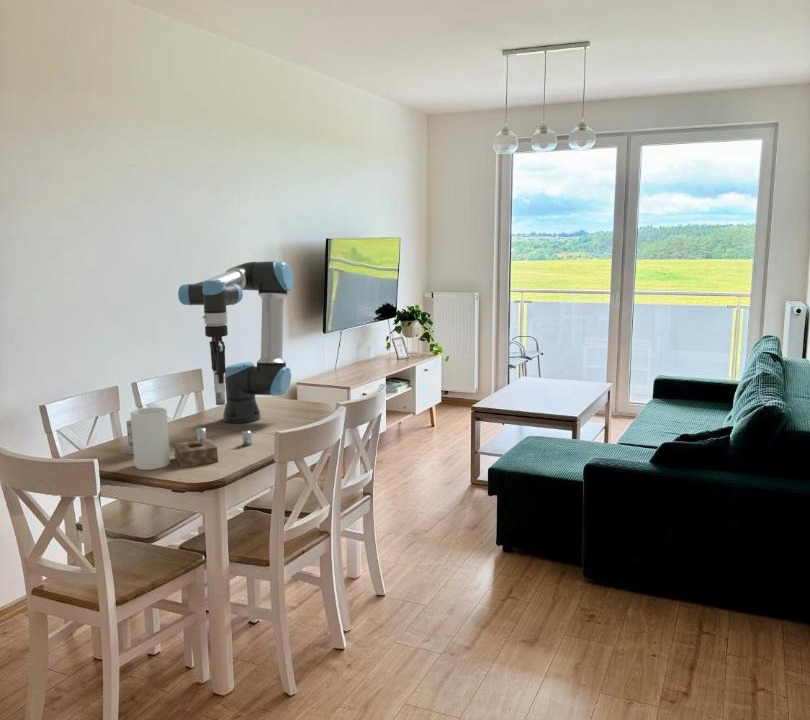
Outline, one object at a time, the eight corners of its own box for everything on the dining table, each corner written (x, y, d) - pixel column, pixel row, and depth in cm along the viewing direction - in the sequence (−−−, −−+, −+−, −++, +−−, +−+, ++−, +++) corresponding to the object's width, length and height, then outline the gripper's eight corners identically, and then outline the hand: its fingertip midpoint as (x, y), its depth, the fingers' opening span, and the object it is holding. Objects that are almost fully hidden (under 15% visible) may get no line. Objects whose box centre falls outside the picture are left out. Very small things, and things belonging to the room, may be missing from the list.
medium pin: (206, 449, 265) (204, 427, 264) (207, 451, 262) (206, 429, 261) (196, 450, 264) (195, 428, 263) (198, 452, 261) (197, 430, 260)
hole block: (210, 452, 260) (209, 439, 260) (218, 461, 250) (217, 447, 249) (175, 457, 255) (174, 443, 254) (181, 467, 245) (180, 452, 244)
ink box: (157, 452, 262) (155, 419, 261) (147, 456, 258) (144, 422, 256) (138, 450, 266) (135, 417, 264) (128, 453, 262) (125, 420, 260)
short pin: (250, 443, 272) (249, 429, 271) (252, 445, 269) (252, 431, 269) (241, 444, 271) (241, 430, 270) (244, 446, 268) (243, 432, 267)
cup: (154, 458, 255) (150, 405, 252) (177, 463, 249) (173, 408, 246) (127, 467, 246) (122, 412, 242) (150, 472, 240) (146, 416, 237)
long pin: (224, 402, 265) (222, 369, 263) (226, 404, 262) (224, 370, 260) (215, 403, 264) (213, 370, 262) (217, 405, 261) (215, 371, 259)
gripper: (200, 323, 264) (204, 388, 268) (210, 327, 250) (214, 396, 253) (221, 322, 267) (225, 386, 271) (232, 326, 253) (236, 394, 257)
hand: (219, 391), depth 262 cm, fingers closed on long pin, 3 cm apart
